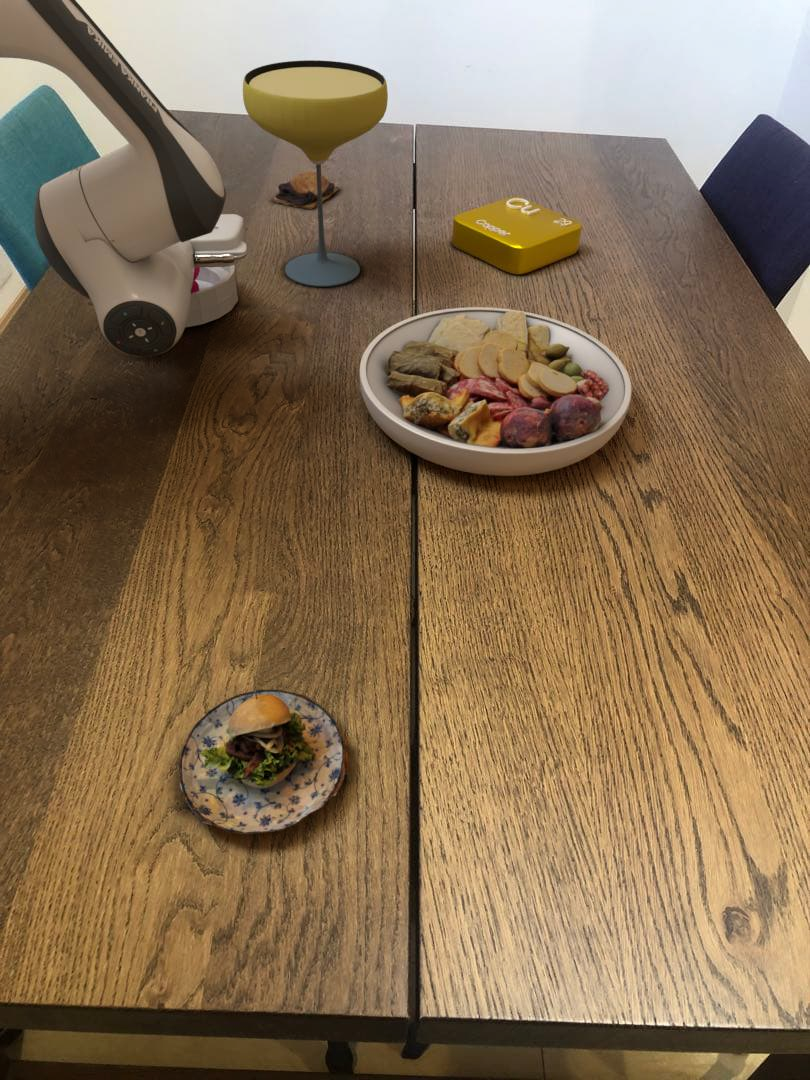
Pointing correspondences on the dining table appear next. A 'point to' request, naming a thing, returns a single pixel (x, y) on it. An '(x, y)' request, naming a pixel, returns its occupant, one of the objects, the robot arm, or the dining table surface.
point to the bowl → (494, 390)
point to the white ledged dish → (213, 295)
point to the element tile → (516, 235)
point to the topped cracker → (304, 190)
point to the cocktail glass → (316, 132)
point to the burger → (262, 762)
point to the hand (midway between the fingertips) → (164, 213)
